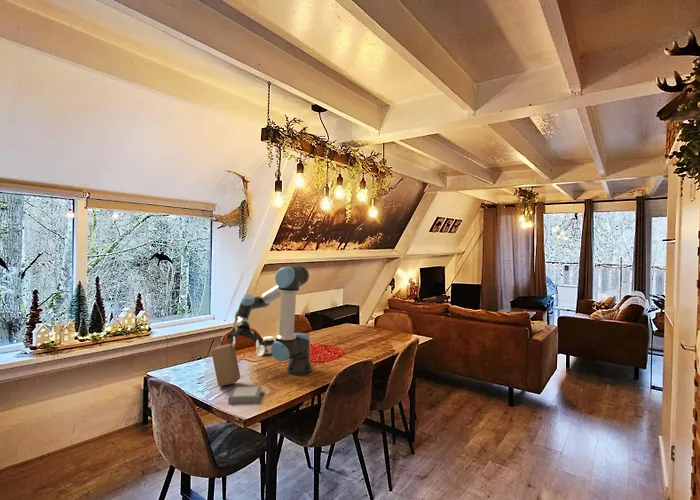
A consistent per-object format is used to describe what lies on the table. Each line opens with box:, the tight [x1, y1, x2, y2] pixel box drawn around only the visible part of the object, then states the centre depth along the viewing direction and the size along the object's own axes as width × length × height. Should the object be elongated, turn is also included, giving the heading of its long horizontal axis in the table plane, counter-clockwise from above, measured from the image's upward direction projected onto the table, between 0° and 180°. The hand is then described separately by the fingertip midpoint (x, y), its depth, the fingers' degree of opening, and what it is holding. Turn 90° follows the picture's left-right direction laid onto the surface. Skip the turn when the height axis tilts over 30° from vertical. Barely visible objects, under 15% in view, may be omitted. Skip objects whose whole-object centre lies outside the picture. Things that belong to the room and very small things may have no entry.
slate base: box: [227, 385, 263, 405], centre depth 191 cm, size 14×14×3 cm
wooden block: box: [210, 342, 241, 387], centre depth 207 cm, size 10×10×20 cm
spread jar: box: [255, 335, 276, 357], centre depth 264 cm, size 12×11×12 cm
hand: (246, 346), depth 210 cm, fingers open, 13 cm apart
